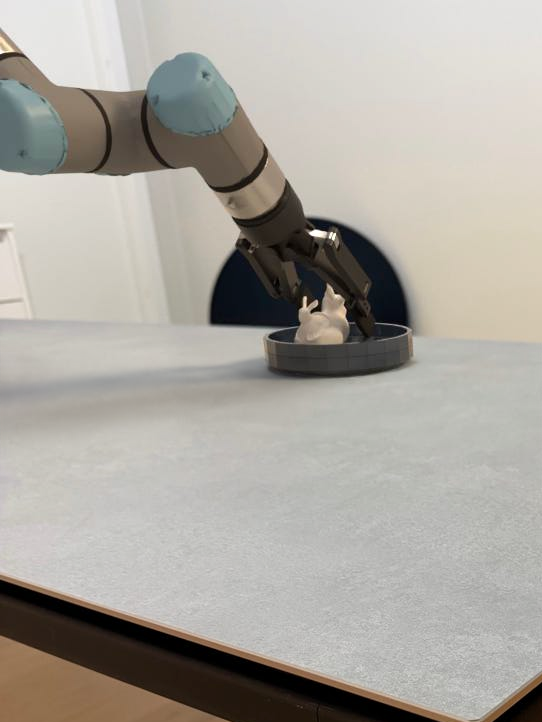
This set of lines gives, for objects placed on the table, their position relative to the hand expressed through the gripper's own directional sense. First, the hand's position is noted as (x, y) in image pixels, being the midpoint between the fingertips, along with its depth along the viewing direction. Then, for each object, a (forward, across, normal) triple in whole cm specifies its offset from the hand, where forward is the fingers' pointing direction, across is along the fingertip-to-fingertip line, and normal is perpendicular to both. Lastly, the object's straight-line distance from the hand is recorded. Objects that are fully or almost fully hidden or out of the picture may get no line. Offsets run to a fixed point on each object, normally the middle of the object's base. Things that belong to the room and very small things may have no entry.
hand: (346, 328), depth 126 cm
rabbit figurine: (0, 0, -5) cm, 5 cm away
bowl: (+2, 0, -4) cm, 5 cm away
